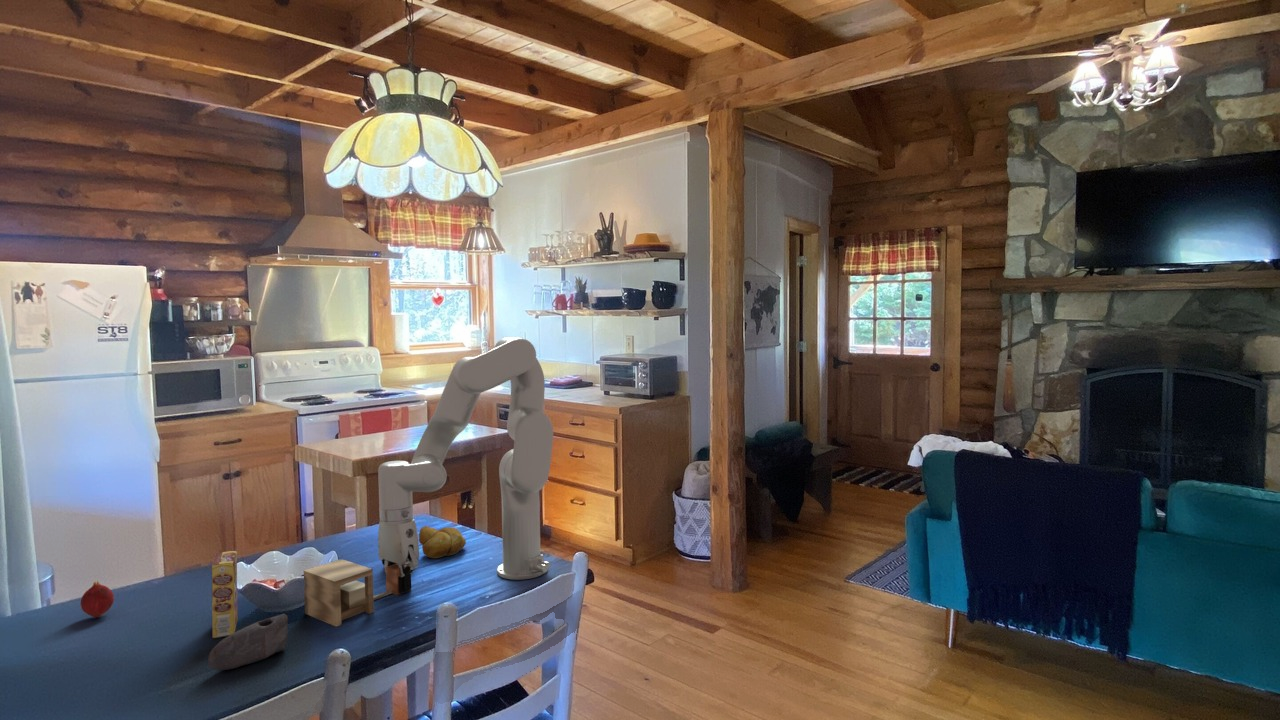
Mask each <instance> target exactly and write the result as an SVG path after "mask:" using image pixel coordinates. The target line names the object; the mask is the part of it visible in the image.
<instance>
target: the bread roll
mask: <svg viewBox="0 0 1280 720" xmlns="http://www.w3.org/2000/svg"><path fill="white" fill-rule="evenodd" d="M466 540H467V539H466V538H465V537H464V536H463V534H462V532H461V531H460V530H459V529H458V528H455V527H447V526H446V527H443V528H441V529H437V528H434V527H430V526H426V525H425V526H422V527H421V528H420V529H419V533H418V542H419V544H420V545H422V546H421V548H422V553H423V555H424V556H426V557H427V558H430V559H439V558H442V557H444V556H446V557H447V556H452V555H453V556H454V555H455V554H457V553H458V552H460V551H462V550H463V549H464V547H465V546H466V543H467V542H466Z"/></svg>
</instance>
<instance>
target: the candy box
mask: <svg viewBox="0 0 1280 720" xmlns="http://www.w3.org/2000/svg"><path fill="white" fill-rule="evenodd" d="M237 555H238V553H237V550H229V551H223V552H216V553H215V554H214V558H213V561H212V564H211V611H212V615H211V616H212V619H211V621H212V639H217V638H222V637H223V638H225V637H228V636H230V635H231V634H233V633H235V632H236V629H237V628H236V627H237V623H238V618H239V617H238V616H239V615H238V614H239V611H238V609H239V608H238V606H239V605H238V602H239V601H238V564H237V563H238V558H237Z"/></svg>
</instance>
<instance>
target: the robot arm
mask: <svg viewBox="0 0 1280 720" xmlns="http://www.w3.org/2000/svg"><path fill="white" fill-rule="evenodd" d="M509 381H510V399H509V400H510V401H509V408H508V416H507V421H506V422H507V423H506V431H507V434H508V436H509V437H510V439H511V440H513V448H512V449H510V450H509V451H507V452H506V453H504V454H503V456H502V458H501V460H500V461H499V462H500V463H499V467H498V468H499V469H498V472H499V473H498V475H499V477H498V478H499V483H500V484H499V485H500V494H501V522H502V523H501V527H502V529H501V530H502V531H501V534H502V563H501V564H500V565H498V566H497V568H496V574H497V576H499V577H501V579H502V578H503V579H507V580H512V581H513V580H514V581H515V580H518V581H519V580H520V581H521V580H522V581H523V580H529V579H534V578H538V577H541V576H542V575H544V574H546V573H547V572H548V569H549V568H550V567H551V562H550V561H546V560H544V554H542V553H541V518H540V517H541V515H540V514H541V513H540V511H541V510H540V509H541V501H540V492H539V491H541V490H542V489H543V488H544V486H545V485H546V484H547V482H548V479H549V475H550V472H551V471H550V470H551V461H552V454H553V444H554V443H553V442H554V428H553V427H554V426H553V423H552V421H551V418H550V417H549V416H548V415H547V414H546V413H545V412H544V406H545V389H546V384H545V383H546V379H545V375H544V371H543V368H542V366H541V364H540V361H539V360H538V358H537V351H536V347H535V346H534V344H533V343H532V342H530V341H529V340H528V339H526V338H523V337H516V336H506V337H503V338H501V339H500V340H498V341H497V342H496V343H495V345H494V348H493V349H491V350H489V351H486V352H483V353H482V354H479V355H476V356H465V357H462V358H460V359H458V360H457V361H456V363H455V364H454V365H453V367H452V369H451V371H450V374H449V376H448V378H447V381H446V383H445V385H444V389H443V391H442V393H441V396H440V398H439V400H438V403H437V404H436V407H435V410H434V411H433V414H432V416H431V418H430V419H429V422H428V423H427V425H426V428H425V430H424V432H423V433H422V436H421V438H420V440H419V442H418V445H417V447H416V450H415V452H414V454H413V457H412V458H411V462H408V461H406V460H391V461H385V462H383V463H381V464H380V465H379V467H378V471H377V474H378V478H377V479H378V481H377V482H378V504H379V506H378V507H379V508H378V509H379V522H378V531H377V532H378V533H377V534H378V537H377V541H378V542H377V548H378V549H377V550H378V553H377V556H378V558H379V560H380V561H381V563H382V566H383V565H384V566H383V571H384V572H385V573H386V567H387V566H390V565H393V564H396V563H397V564H398V565H399V572H400V576H399V577H398V585H399V593H402V594H405V593H406V591H407V592H410V591H411V590H412V574H413V572H414V570H415V569H416V568H417V567H419V561H418V560H419V559H420V545H419V544H420V542H419V533H418V528H417V523H416V521H415V519H414V505H413V504H414V503H413V501H414V500H413V493H414V492H417V493H419V492H420V493H433V492H436V491H438V490H440V489H442V487H444V485H445V484H446V482H447V478H448V475H447V470H446V468H445V467H444V466H443V464H444V462H445V458H446V456H447V454H448V452H449V449H450V447H451V446H452V445H453V442H454V440H455V439H456V438H457V437H458V436H459V435H460V434H461V433H462V432H463V431H464V430H465V429H466V428H467V426H468V425H469V422H470V420H471V417H472V416H473V413H474V409H475V408H476V405H477V403H478V400H479V398H480V395H481V394H482V393H485V392H487V391H489V390H492V389H494V388H496V387H498V386H500V385H502V384H504V383H507V382H509ZM406 560H407V561H406ZM406 564H407V566H406V568H405V569H404V566H403V565H406ZM409 590H410V591H409Z"/></svg>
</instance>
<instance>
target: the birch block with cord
mask: <svg viewBox="0 0 1280 720" xmlns="http://www.w3.org/2000/svg"><path fill="white" fill-rule="evenodd" d="M403 566H404V569H405V568H406V566H407V564H406V565H403ZM399 576H400V572H399V565H398V564H397V563H396V564H393V565H390V566H387V567H386V572H385V590H386V591H384V592H382V593H379V594H376V595H373V600H374V601H375V600H378V599H380V598H383V597H385V596H389V595H391V594H392V595H395V596H399V595H402V594H403V593H399V585H398V577H399ZM410 591H411V590H409V591H406V592H410ZM406 592H405V593H406ZM340 598H341V612H343V611H345V610H348V609H351V608H353V607H356V606H359V605H361V604H364V603H365V582H362V581H359V580H355V581H352V582H349V583H346V584H344V585H341V586H340Z"/></svg>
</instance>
